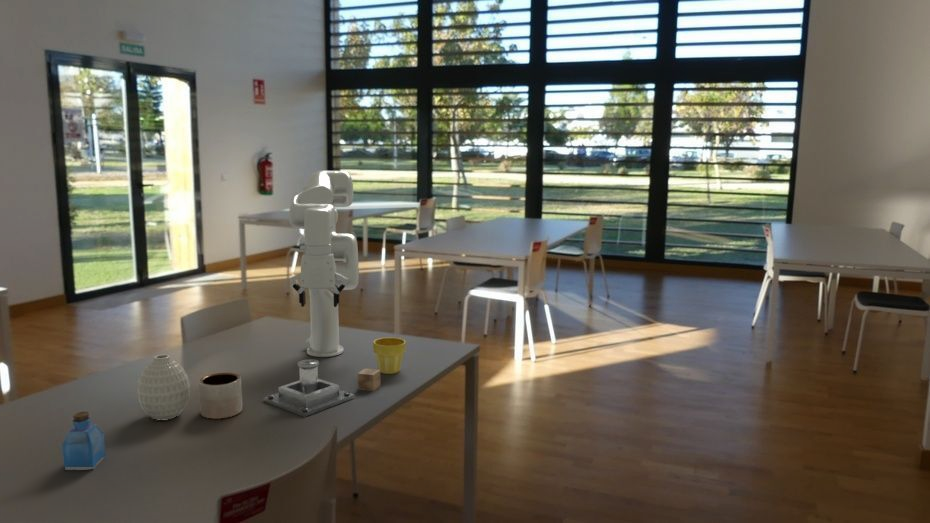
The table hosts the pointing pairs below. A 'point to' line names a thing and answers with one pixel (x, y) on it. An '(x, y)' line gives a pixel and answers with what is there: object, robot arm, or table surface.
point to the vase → (163, 388)
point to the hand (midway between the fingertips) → (319, 305)
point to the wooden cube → (369, 379)
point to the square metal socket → (308, 398)
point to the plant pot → (389, 354)
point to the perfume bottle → (83, 443)
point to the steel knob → (308, 375)
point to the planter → (220, 395)
